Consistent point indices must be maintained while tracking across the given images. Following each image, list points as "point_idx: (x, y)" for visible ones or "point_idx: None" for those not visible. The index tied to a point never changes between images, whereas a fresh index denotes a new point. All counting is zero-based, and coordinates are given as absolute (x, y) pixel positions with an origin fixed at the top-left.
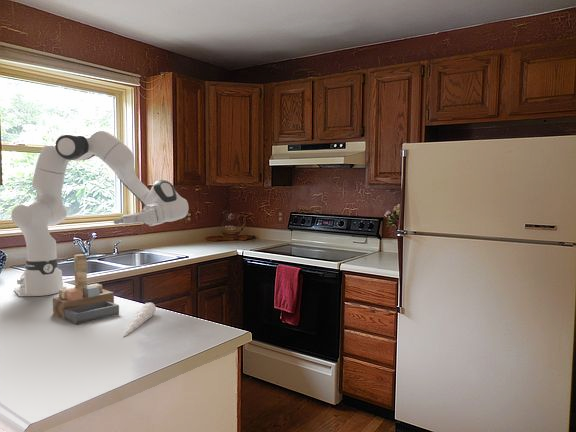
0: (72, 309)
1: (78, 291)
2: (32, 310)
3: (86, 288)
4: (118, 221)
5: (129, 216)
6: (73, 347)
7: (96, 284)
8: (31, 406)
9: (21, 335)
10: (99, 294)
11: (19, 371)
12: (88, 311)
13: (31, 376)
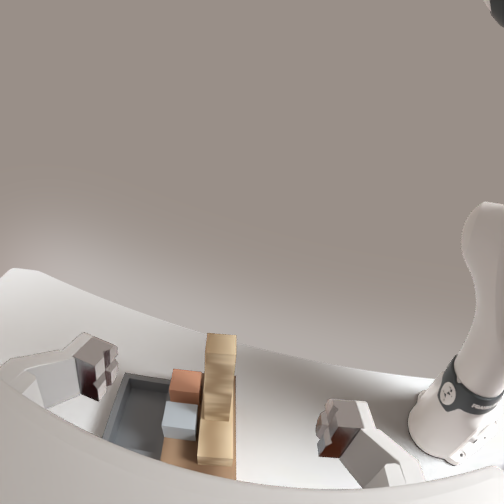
0: (168, 391)
1: (170, 382)
2: (296, 388)
3: (176, 402)
4: (329, 436)
5: (204, 479)
6: (58, 333)
7: (219, 450)
8: (21, 273)
9: (159, 333)
10: (171, 441)
11: (67, 291)
12: (119, 391)
13: (50, 290)
